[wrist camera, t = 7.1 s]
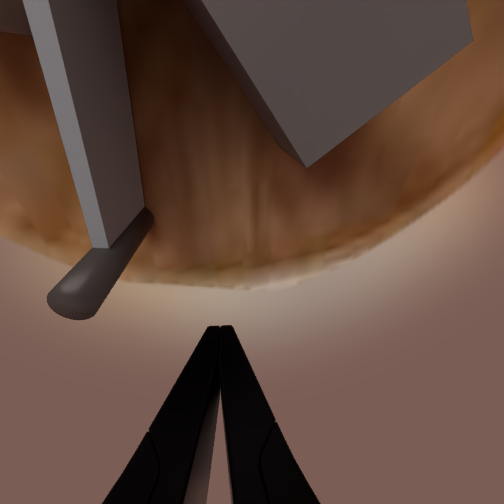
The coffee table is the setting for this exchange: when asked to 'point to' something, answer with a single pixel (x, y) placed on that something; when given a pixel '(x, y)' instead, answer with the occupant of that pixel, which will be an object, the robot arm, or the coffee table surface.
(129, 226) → the side door
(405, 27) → the block
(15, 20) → the lighter
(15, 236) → the coffee table surface
